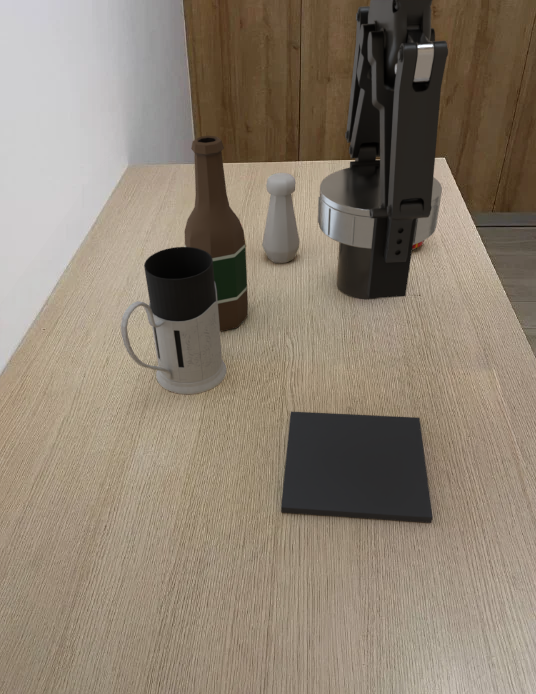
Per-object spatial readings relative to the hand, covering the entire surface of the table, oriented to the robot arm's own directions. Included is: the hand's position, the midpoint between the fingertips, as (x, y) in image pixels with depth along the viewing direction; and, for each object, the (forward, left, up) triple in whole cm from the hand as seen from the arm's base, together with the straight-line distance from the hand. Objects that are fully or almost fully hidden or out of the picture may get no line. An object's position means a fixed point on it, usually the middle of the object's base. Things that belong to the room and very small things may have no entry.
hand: (372, 264), depth 51 cm
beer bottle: (+18, -27, -23) cm, 40 cm away
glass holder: (+21, -12, -23) cm, 33 cm away
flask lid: (0, 0, +6) cm, 6 cm away
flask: (-2, -37, -23) cm, 43 cm away
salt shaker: (+11, -45, -23) cm, 52 cm away
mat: (0, 0, -23) cm, 23 cm away
